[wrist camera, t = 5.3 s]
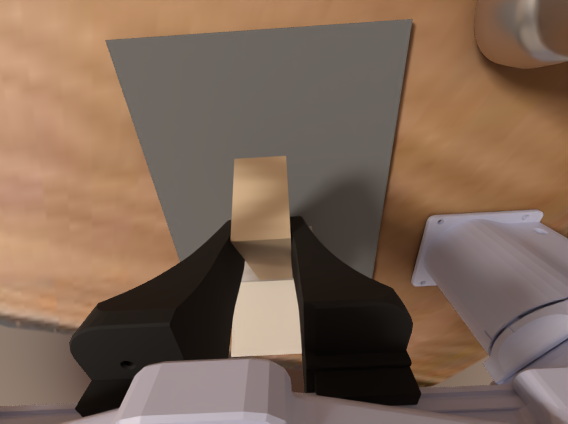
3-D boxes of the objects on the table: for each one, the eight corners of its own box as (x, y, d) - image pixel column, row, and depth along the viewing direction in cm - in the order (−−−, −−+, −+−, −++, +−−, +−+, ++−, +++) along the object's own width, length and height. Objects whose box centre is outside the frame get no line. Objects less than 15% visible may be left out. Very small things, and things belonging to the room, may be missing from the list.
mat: (409, 20, 15) (412, 19, 14) (365, 308, 27) (367, 311, 27) (109, 40, 15) (105, 40, 15) (200, 316, 27) (199, 319, 27)
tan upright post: (324, 153, 11) (336, 235, 10) (311, 229, 21) (315, 278, 19) (195, 161, 12) (185, 243, 10) (238, 233, 21) (237, 282, 19)
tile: (317, 244, 21) (328, 352, 18) (315, 249, 23) (326, 349, 19) (235, 248, 21) (231, 356, 18) (238, 253, 23) (236, 354, 19)
